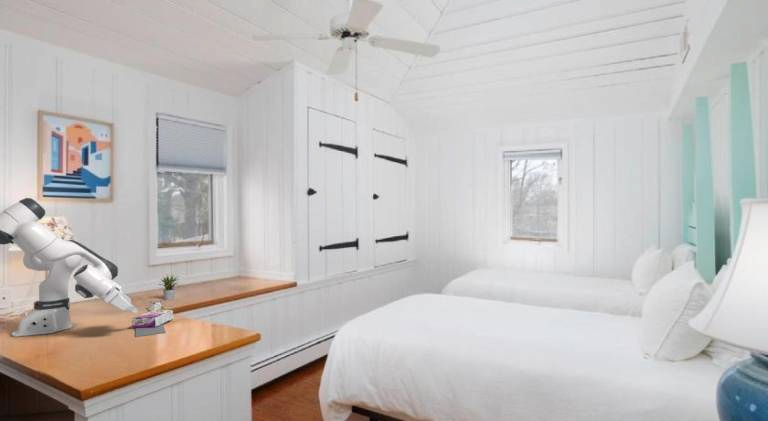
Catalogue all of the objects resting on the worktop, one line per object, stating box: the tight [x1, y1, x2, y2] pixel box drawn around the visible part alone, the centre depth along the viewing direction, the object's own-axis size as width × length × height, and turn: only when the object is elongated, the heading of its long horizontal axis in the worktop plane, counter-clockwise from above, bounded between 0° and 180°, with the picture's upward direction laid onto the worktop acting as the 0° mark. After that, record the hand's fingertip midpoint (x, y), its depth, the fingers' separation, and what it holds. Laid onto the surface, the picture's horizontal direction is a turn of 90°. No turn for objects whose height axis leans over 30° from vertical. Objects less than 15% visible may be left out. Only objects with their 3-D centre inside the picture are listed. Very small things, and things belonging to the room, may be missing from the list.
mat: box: [135, 323, 166, 338], centre depth 200 cm, size 12×24×1 cm, turn 30°
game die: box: [145, 300, 166, 312], centre depth 227 cm, size 9×8×10 cm
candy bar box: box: [131, 309, 174, 329], centre depth 208 cm, size 11×5×16 cm
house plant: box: [158, 274, 181, 301], centre depth 277 cm, size 14×14×16 cm
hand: (136, 311), depth 197 cm, fingers closed
